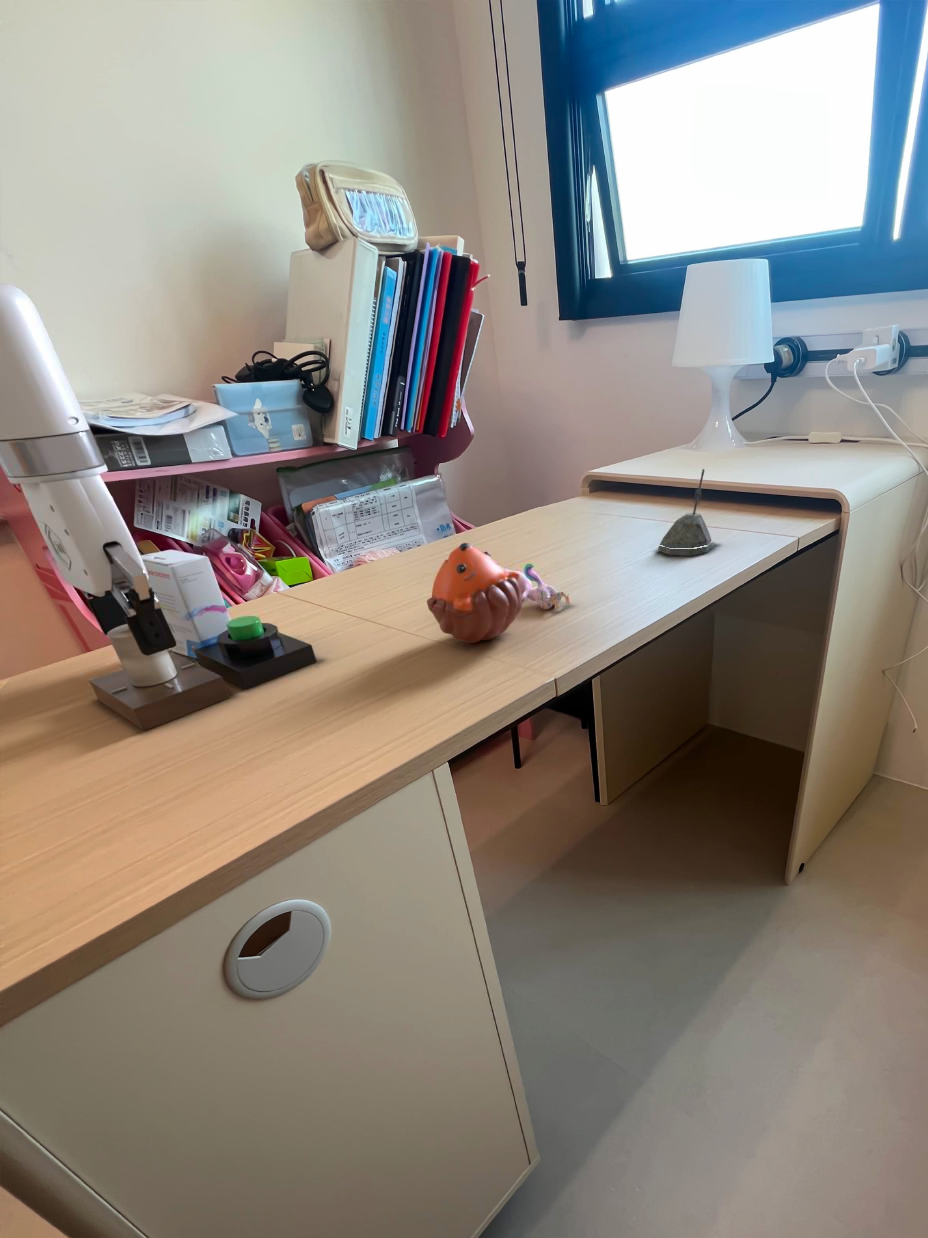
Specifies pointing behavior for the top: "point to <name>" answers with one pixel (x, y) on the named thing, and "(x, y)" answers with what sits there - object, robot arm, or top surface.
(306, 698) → the top surface
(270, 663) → the switch box
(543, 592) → the pink plastic figure
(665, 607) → the top surface
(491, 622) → the orange toy creature
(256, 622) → the green button
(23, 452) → the robot arm
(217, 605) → the ink box
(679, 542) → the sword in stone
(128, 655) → the dimmer knob
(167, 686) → the dimmer panel
